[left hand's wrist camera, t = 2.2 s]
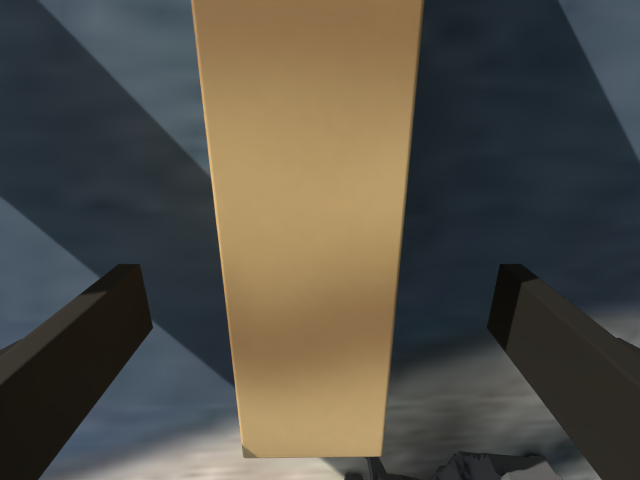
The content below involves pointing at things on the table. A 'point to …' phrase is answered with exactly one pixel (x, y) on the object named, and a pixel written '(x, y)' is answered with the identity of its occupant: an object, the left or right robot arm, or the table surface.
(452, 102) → the table surface
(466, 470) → the toy
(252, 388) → the birch bar
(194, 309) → the table surface
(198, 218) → the table surface
